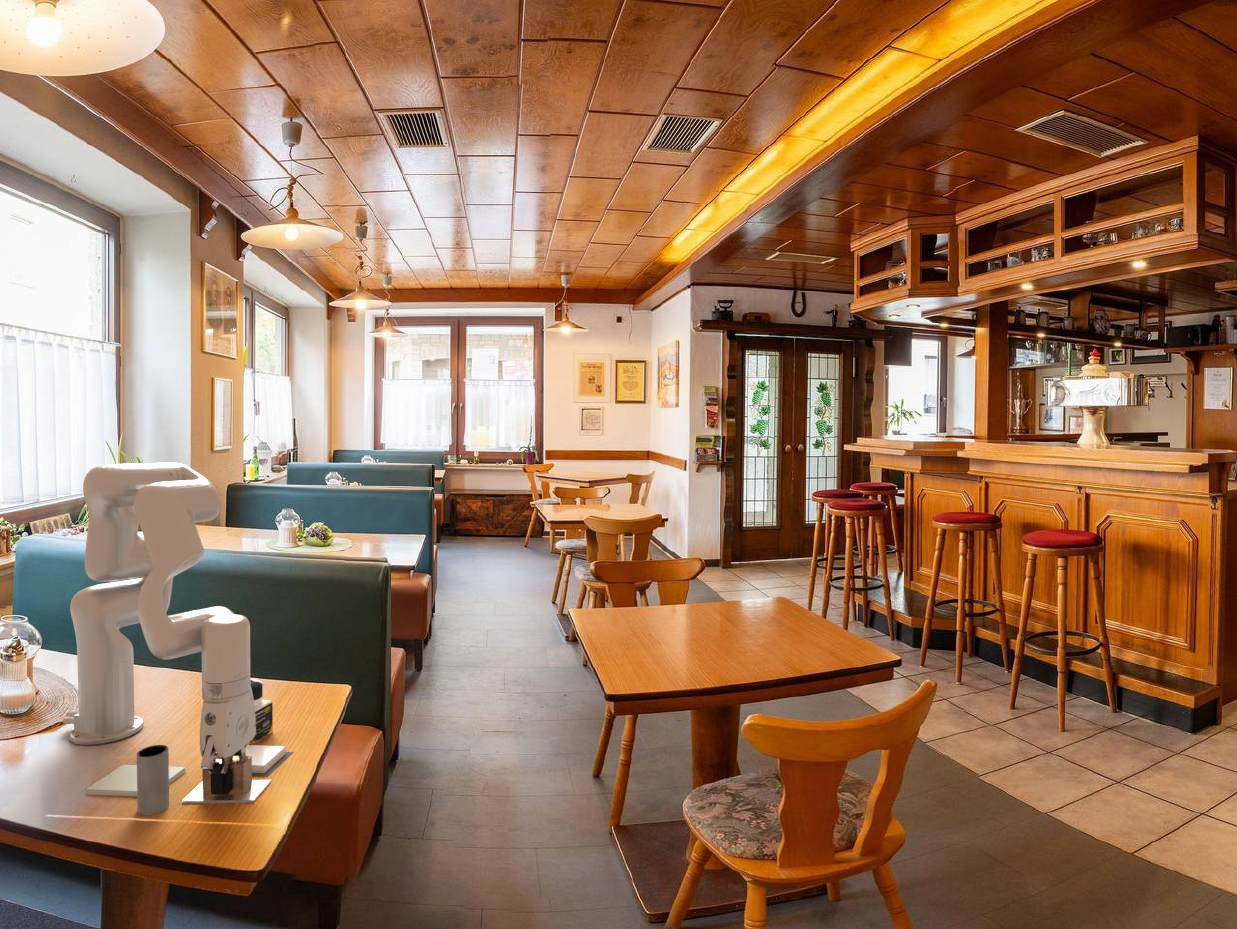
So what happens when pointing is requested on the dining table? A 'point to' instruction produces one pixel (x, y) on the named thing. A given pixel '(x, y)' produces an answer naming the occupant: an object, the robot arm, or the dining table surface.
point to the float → (240, 784)
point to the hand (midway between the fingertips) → (227, 786)
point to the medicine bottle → (261, 712)
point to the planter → (152, 779)
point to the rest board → (125, 781)
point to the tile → (264, 756)
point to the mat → (273, 766)
